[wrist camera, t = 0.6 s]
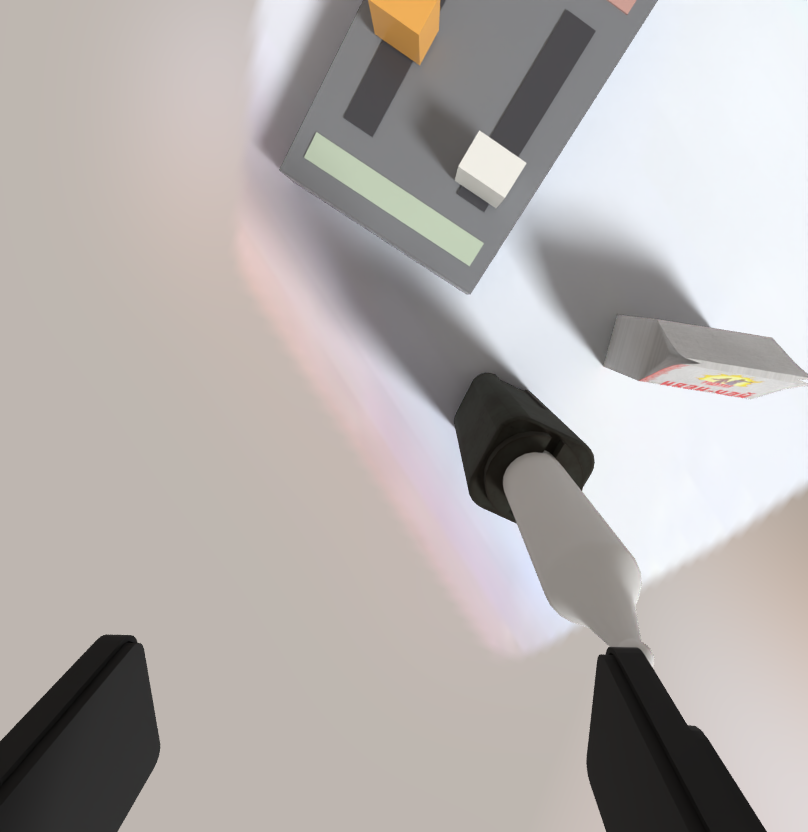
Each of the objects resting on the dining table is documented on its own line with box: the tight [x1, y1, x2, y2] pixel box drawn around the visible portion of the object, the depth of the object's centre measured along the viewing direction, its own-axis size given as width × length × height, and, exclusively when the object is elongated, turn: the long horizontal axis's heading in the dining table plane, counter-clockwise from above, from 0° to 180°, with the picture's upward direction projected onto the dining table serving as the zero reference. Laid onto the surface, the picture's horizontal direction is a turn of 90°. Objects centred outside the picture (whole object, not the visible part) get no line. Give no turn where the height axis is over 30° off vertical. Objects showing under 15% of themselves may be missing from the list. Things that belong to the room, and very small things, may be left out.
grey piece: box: [604, 315, 808, 399], centre depth 29 cm, size 4×7×10 cm, turn 81°
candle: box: [454, 373, 654, 668], centre depth 23 cm, size 5×5×25 cm
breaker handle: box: [368, 0, 440, 65], centre depth 25 cm, size 2×3×3 cm, turn 58°
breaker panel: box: [279, 0, 658, 294], centre depth 27 cm, size 20×14×7 cm
